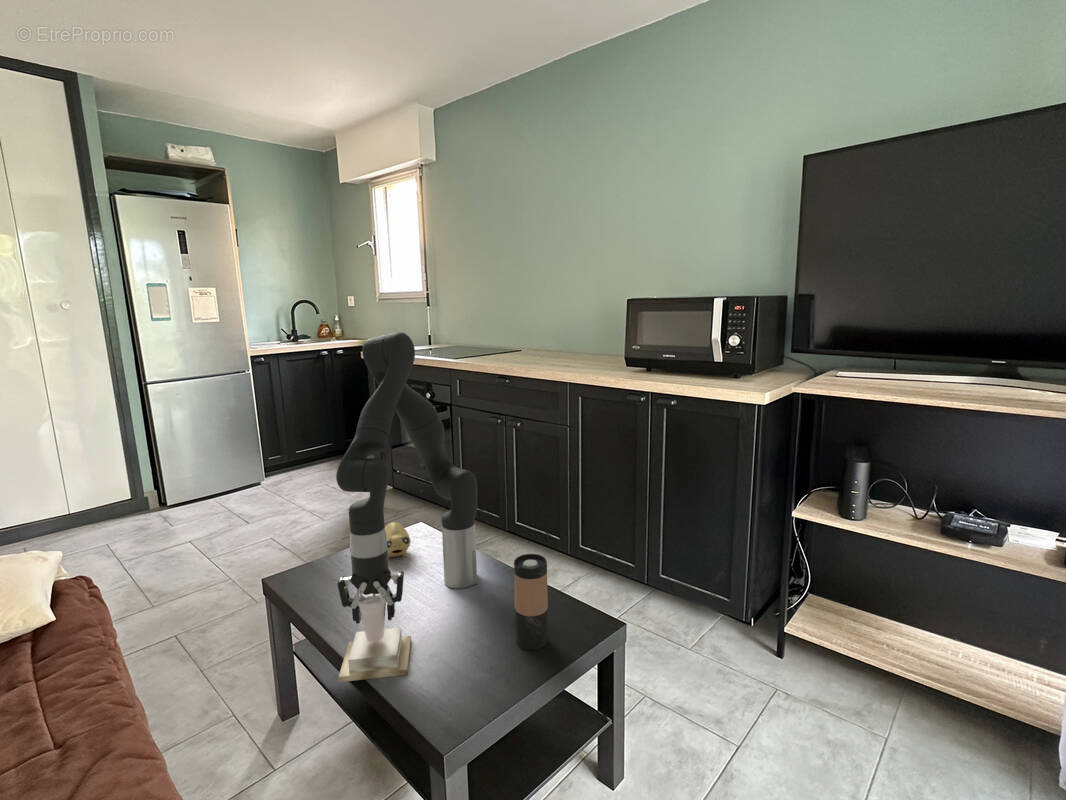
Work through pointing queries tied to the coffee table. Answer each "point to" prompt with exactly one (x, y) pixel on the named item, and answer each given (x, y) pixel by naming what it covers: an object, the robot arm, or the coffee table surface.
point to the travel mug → (531, 601)
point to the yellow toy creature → (396, 539)
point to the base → (378, 672)
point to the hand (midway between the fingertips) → (374, 619)
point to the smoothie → (373, 616)
